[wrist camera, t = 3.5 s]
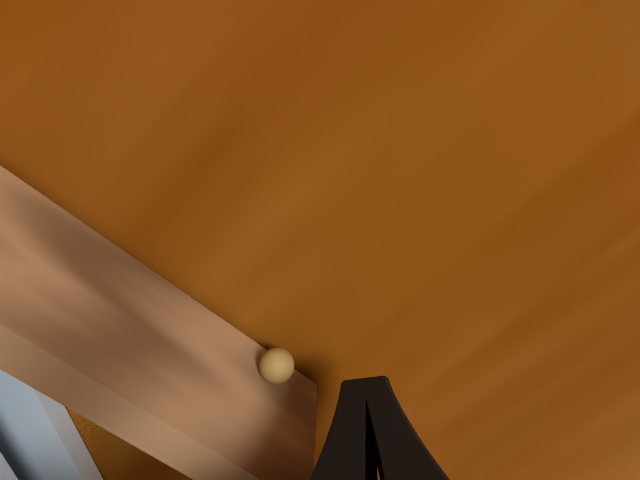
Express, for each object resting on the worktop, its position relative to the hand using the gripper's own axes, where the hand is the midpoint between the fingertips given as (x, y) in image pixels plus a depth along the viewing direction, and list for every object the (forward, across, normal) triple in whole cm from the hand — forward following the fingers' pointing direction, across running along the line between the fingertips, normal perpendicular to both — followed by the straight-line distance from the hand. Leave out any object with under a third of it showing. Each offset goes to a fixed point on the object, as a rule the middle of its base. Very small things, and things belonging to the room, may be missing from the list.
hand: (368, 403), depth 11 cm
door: (+3, +7, -4) cm, 9 cm away
